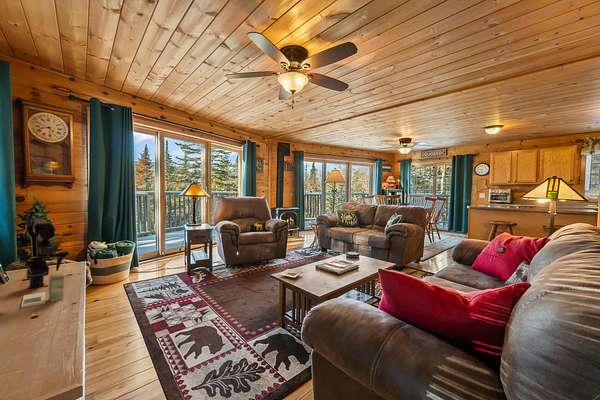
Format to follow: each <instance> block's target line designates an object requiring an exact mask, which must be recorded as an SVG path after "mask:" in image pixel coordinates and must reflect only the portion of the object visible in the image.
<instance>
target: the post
mask: <svg viewBox="0 0 600 400" xmlns="http://www.w3.org/2000/svg"><path fill="white" fill-rule="evenodd" d="M48 277H49V278H48V300H49V301H50V302H51V303H53V302H56V301H59V300H63V299H64V285H65V284H64V281H65V279H64V278H65V276H64V274H61V273H58V274H54V275H53V274H52V275H49V276H48Z"/></svg>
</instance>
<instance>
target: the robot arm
mask: <svg viewBox="0 0 600 400" xmlns="http://www.w3.org/2000/svg"><path fill="white" fill-rule="evenodd" d="M24 230H25V233H26V236H27V237H28V238H29V239H30V241H31V242H30V244H31V246H30V247H31V254H26V255H20V256H19V257H18V259H17V264H21V265H24V266H25V268H26V272H25V277H26V279H29V284H28V286H27V287H28V288H27V289H28V290H31V289H38V288H44V287H45V281H44V280H45V276H46V277H47V276H48V275H49V271H50V267H49V265H47V261H46V259H53V258H57V259H56V263H55V265H56V266H55V269H56V272H58V270H59V268H60V266H61V263H62V261H63V260H65V259H66V258H68V257H69V256H70V253H69V251H68V250H65V251H64V250H63V251H62V250H61V251H59V245H58V244H55V245H54V244H53V245H52V240H53V239H54V237H55V235H56V233H55V232H56V231H57V230H56V228H55V226H54V224H52V222H48V221H46V220H45V218H44V217H32V218H31V220H29V221H27V222H26V223H25V227H24ZM54 252H57V253H54Z"/></svg>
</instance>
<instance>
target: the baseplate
mask: <svg viewBox="0 0 600 400" xmlns="http://www.w3.org/2000/svg"><path fill="white" fill-rule="evenodd" d="M46 295H47V293H46V291H43V292H36V293H31V294H24V295H23V298H22V302H21V306H20V307H21V309H22V308H28V307H33V306H38V305H44V304H46Z"/></svg>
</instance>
